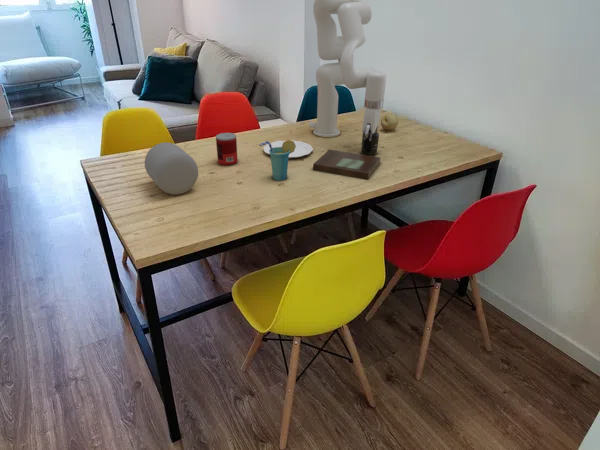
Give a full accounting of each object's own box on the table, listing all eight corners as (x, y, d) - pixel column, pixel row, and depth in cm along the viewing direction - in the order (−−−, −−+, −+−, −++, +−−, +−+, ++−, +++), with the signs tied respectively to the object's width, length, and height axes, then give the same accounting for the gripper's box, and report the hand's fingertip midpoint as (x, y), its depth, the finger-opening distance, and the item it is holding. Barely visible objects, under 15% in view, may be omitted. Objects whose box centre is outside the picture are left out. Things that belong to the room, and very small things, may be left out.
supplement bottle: (378, 156, 188) (381, 128, 182) (361, 156, 188) (364, 128, 182) (375, 150, 194) (378, 123, 188) (360, 150, 194) (362, 123, 188)
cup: (266, 185, 161) (265, 145, 153) (256, 178, 166) (254, 139, 159) (299, 177, 167) (299, 139, 160) (288, 171, 173) (288, 133, 165)
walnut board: (313, 169, 174) (313, 163, 173) (328, 154, 189) (329, 148, 187) (368, 179, 167) (368, 172, 165) (380, 163, 181) (380, 156, 180)
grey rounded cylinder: (136, 190, 145) (127, 154, 163) (171, 213, 155) (158, 177, 173) (177, 150, 142) (163, 118, 160) (209, 175, 152) (193, 143, 170)
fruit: (378, 128, 222) (379, 112, 218) (394, 128, 223) (396, 111, 219) (382, 133, 215) (384, 116, 211) (399, 132, 216) (401, 116, 212)
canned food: (241, 160, 182) (239, 134, 176) (230, 167, 175) (228, 140, 170) (225, 157, 184) (223, 131, 179) (214, 164, 178) (211, 137, 173)
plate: (284, 164, 178) (284, 160, 177) (253, 150, 192) (253, 147, 191) (322, 153, 190) (322, 149, 190) (291, 140, 204) (291, 137, 203)
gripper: (370, 98, 189) (366, 138, 198) (358, 108, 175) (355, 151, 184) (388, 100, 186) (383, 141, 195) (377, 110, 172) (372, 154, 181)
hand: (369, 145), depth 189 cm, fingers closed on supplement bottle, 6 cm apart
